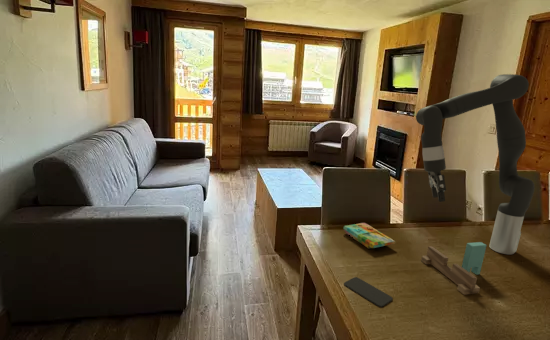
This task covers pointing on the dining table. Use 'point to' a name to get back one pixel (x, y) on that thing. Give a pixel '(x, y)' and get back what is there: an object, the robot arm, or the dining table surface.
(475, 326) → the dining table surface
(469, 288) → the slotted rail
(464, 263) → the slotted tab
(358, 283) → the phone
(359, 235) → the puzzle game
